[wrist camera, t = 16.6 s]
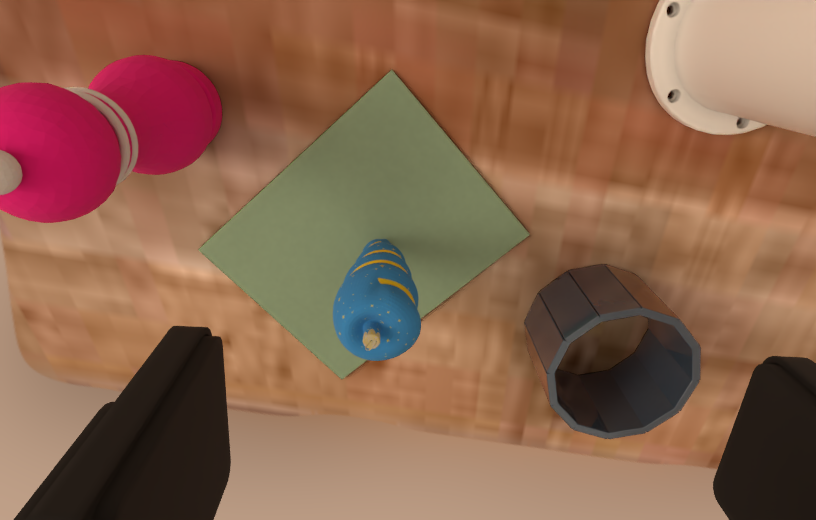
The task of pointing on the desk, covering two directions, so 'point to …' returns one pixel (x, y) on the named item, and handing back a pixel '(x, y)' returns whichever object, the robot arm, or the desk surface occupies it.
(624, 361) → the crock
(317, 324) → the mat
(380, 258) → the ornament
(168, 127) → the pepper mill
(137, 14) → the desk surface
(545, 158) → the desk surface
